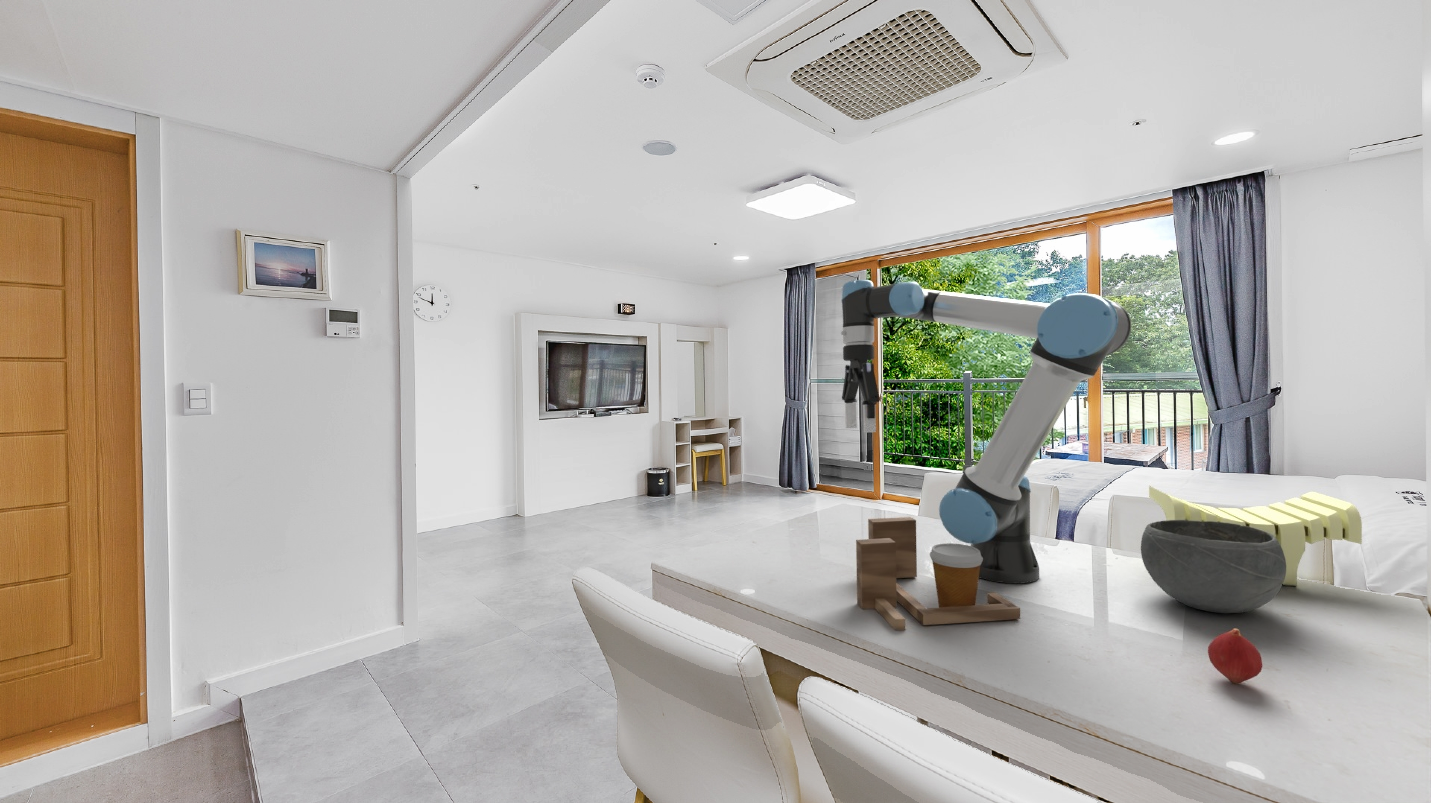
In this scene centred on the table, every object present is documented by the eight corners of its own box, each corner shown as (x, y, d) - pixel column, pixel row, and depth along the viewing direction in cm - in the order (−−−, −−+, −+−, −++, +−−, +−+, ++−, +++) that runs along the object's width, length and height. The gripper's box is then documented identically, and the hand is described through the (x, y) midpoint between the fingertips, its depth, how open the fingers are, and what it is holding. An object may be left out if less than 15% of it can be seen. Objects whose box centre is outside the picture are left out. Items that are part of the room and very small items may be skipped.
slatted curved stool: (1174, 580, 123) (1174, 498, 122) (1149, 558, 138) (1149, 485, 137) (1360, 595, 112) (1361, 506, 111) (1311, 570, 127) (1312, 491, 126)
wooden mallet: (857, 603, 115) (856, 539, 114) (890, 601, 115) (889, 538, 115) (881, 631, 102) (880, 559, 101) (919, 628, 102) (918, 557, 102)
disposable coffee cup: (989, 622, 104) (988, 558, 104) (934, 619, 106) (933, 556, 106) (976, 602, 113) (976, 543, 113) (926, 600, 115) (925, 541, 115)
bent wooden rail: (869, 574, 130) (868, 518, 130) (947, 570, 132) (946, 515, 131) (922, 625, 103) (921, 554, 103) (1020, 618, 105) (1019, 549, 104)
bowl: (1283, 602, 109) (1283, 526, 109) (1289, 641, 94) (1290, 551, 94) (1147, 579, 124) (1147, 511, 123) (1133, 609, 108) (1133, 531, 108)
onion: (1197, 673, 85) (1197, 620, 84) (1232, 670, 85) (1232, 618, 85) (1236, 694, 79) (1236, 638, 79) (1273, 691, 79) (1274, 635, 79)
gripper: (829, 348, 152) (830, 426, 153) (861, 340, 127) (862, 434, 128) (856, 347, 153) (857, 425, 154) (893, 340, 128) (894, 433, 129)
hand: (860, 430), depth 141 cm, fingers open, 13 cm apart
